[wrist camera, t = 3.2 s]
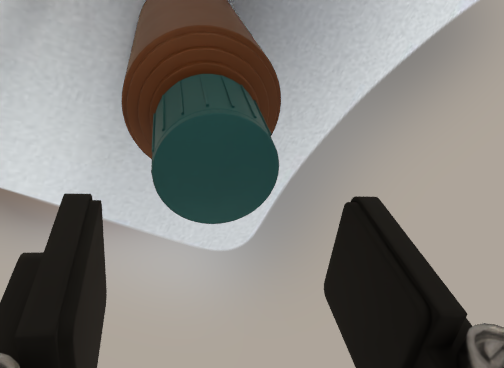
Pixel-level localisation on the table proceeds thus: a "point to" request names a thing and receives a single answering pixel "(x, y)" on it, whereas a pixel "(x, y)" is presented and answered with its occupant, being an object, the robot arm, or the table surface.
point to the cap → (212, 150)
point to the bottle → (192, 60)
